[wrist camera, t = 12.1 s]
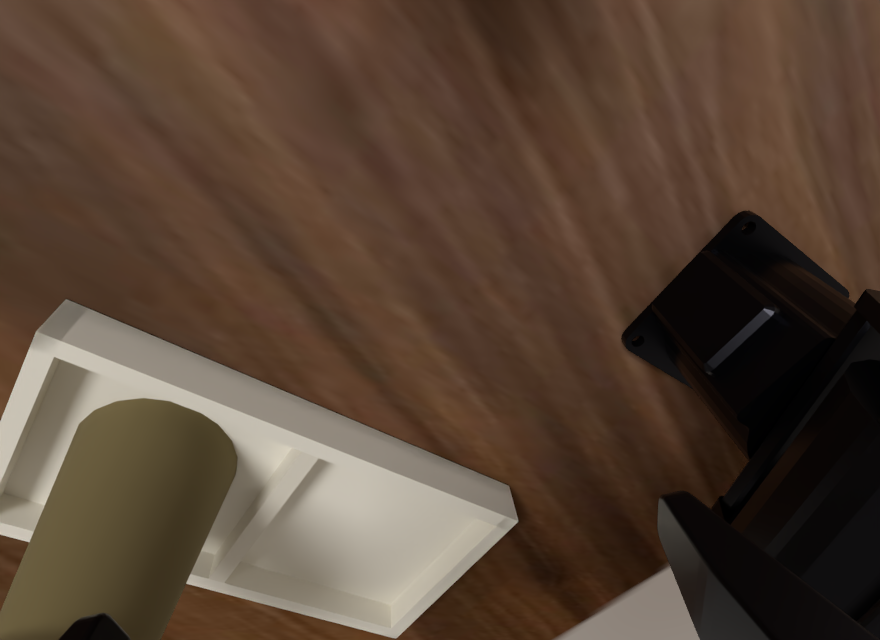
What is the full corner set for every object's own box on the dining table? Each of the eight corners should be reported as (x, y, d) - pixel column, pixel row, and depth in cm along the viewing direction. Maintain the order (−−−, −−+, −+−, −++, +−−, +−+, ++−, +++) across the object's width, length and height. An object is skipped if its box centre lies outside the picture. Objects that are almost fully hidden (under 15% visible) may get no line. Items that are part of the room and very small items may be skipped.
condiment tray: (508, 485, 26) (518, 521, 24) (394, 601, 30) (395, 638, 28) (66, 299, 19) (36, 331, 17) (-10, 482, 23) (-41, 523, 21)
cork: (267, 445, 22) (193, 788, 13) (189, 528, 24) (76, 876, 15) (117, 371, 20) (-111, 731, 10) (44, 471, 22) (-202, 847, 12)
